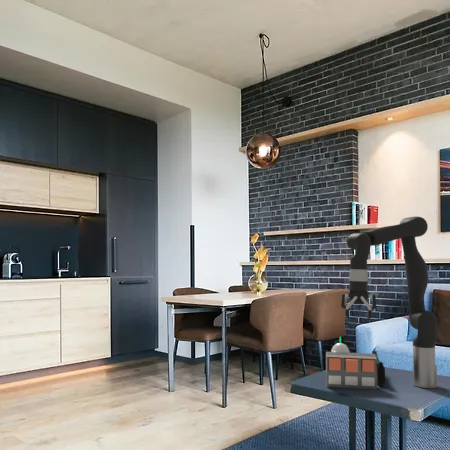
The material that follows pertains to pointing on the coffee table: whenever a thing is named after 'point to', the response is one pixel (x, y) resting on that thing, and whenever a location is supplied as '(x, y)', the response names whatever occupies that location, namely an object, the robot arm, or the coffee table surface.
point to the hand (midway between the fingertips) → (358, 318)
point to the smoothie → (340, 348)
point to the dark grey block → (351, 378)
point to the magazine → (379, 371)
